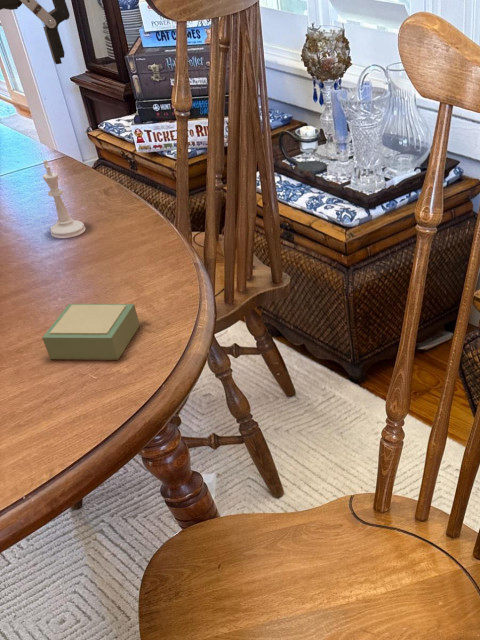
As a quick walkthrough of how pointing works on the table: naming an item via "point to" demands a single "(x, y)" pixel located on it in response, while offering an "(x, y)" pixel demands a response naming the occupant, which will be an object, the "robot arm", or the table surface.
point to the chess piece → (61, 209)
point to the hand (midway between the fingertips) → (22, 68)
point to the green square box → (92, 331)
